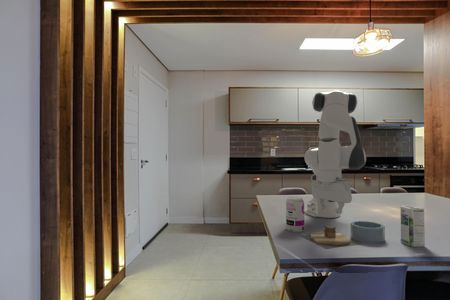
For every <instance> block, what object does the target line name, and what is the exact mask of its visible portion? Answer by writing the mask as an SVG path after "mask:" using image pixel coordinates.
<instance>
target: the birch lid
mask: <svg viewBox="0 0 450 300" xmlns="http://www.w3.org/2000/svg"><path fill="white" fill-rule="evenodd" d="M323 227H324V228H323V229H324V231H316V232H312V233H311V234H310V235H311V240H313V241H314V242H317V243H320V244H324V245H331V246H342V245H347V244H349V243H350V239H351V238H350V237H351V236H348V235H346V234H344V233H340V232H336V227H335V226H332V225H325V226H323Z"/></svg>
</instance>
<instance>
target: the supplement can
mask: <svg viewBox="0 0 450 300" xmlns="http://www.w3.org/2000/svg"><path fill="white" fill-rule="evenodd" d="M304 210H305V201H304V199H303V198H302V197H297V196H296V197H295V196H291V197H290V196H289V197H287V198H286V201H285V212H286V213H285V219H286V220H285V225H286V227H285V228H286V230H287V231H289V232H293V233H294V232H295V233H301V232H303V231H305V228H306V227H305V224H306V223H305V212H304Z"/></svg>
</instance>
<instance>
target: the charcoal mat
mask: <svg viewBox="0 0 450 300" xmlns="http://www.w3.org/2000/svg"><path fill="white" fill-rule="evenodd" d="M300 237H301V238H304V239H305V240H308V241H310V242H312V243H313V244H315V245H317V246H320V247H321V248H323V249H326V250H328V249H335V248H343V247H344V248H345V247H352V246H358V245H363V243H362V242H361V241H360V242H359V241H358V240H355V239H353V238H350V243H349V244H347V245H342V246H331V245H324V244H320V243H317V242H314V241H313V240H311V234H305V235H300Z"/></svg>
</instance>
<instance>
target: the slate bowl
mask: <svg viewBox="0 0 450 300" xmlns="http://www.w3.org/2000/svg"><path fill="white" fill-rule="evenodd" d="M385 234H386V233H385V225H383V224H382V223H378V222H375V221H367V220H357V221H354V220H353V221H352V222H350V237H351V239H352V240H355V241H357V242H359V241H360V242H363V243H370V244H371V243H374V244H377V243H383V242H384V241H385V238H386V235H385Z"/></svg>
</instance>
